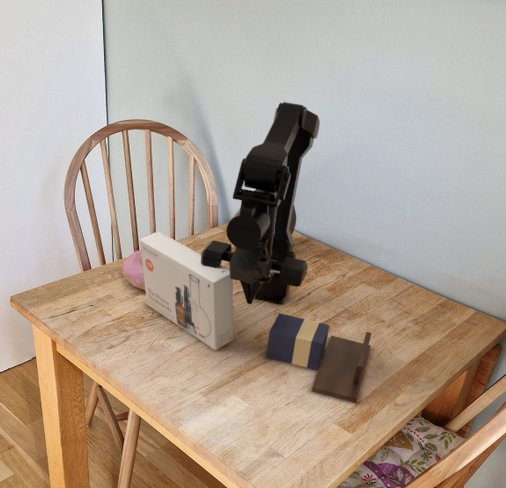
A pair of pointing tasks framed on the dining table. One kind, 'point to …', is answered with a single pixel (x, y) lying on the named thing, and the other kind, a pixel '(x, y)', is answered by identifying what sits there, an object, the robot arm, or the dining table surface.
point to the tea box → (297, 341)
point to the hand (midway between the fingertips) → (249, 303)
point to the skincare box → (188, 289)
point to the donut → (134, 270)
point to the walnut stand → (342, 368)
